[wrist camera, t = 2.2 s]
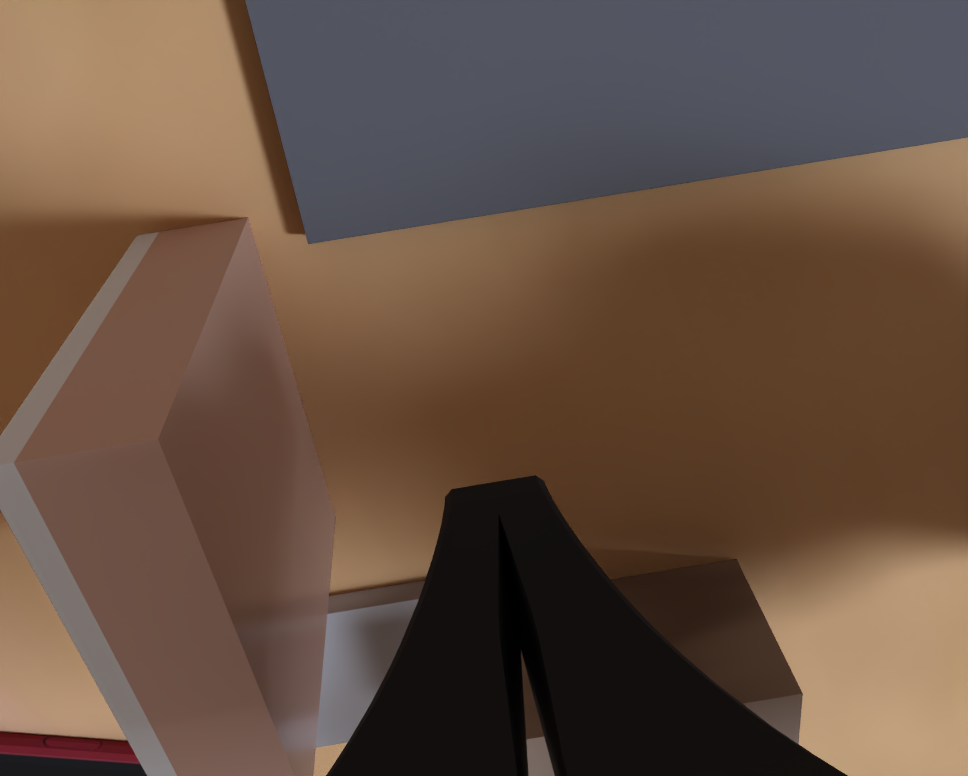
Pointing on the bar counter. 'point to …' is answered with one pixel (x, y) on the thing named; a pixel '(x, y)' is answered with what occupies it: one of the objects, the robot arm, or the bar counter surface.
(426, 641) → the robot arm
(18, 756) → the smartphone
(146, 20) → the bar counter surface
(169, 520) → the tile
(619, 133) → the mat
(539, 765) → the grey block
